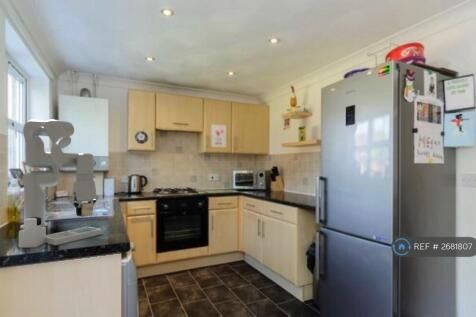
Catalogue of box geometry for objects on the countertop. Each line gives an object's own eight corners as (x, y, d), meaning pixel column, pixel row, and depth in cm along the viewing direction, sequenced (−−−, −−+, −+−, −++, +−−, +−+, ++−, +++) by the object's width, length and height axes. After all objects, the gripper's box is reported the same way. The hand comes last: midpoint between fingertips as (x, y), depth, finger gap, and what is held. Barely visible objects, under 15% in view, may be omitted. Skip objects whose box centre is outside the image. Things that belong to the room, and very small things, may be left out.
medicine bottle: (29, 243, 125) (29, 216, 125) (46, 242, 125) (46, 216, 126) (18, 247, 118) (18, 219, 118) (35, 247, 118) (36, 219, 118)
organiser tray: (41, 241, 127) (41, 236, 127) (87, 231, 147) (87, 226, 147) (55, 245, 122) (55, 239, 122) (102, 234, 141) (102, 229, 141)
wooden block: (76, 215, 138) (76, 203, 138) (86, 214, 142) (86, 202, 142) (82, 216, 136) (82, 204, 136) (92, 215, 140) (92, 203, 140)
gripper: (95, 177, 149) (95, 211, 148) (62, 178, 134) (62, 216, 133) (104, 177, 145) (104, 212, 145) (72, 179, 130) (71, 218, 130)
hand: (84, 214), depth 139 cm, fingers closed on wooden block, 5 cm apart
